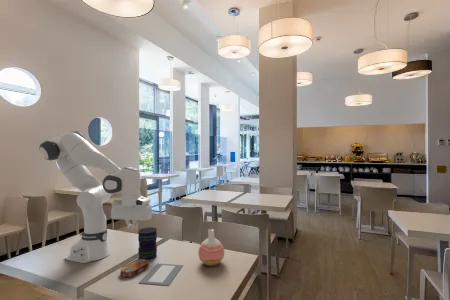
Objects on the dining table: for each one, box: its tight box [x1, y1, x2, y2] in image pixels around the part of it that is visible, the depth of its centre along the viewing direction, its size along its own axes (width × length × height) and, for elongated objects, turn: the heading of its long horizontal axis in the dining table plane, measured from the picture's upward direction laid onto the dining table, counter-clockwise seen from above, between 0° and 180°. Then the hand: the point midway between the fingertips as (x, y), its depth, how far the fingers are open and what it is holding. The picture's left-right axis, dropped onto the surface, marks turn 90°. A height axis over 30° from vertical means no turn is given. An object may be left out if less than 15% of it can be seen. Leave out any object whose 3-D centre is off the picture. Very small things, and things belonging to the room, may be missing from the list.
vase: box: [197, 228, 225, 267], centre depth 127 cm, size 14×14×18 cm
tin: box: [120, 258, 150, 278], centre depth 120 cm, size 15×3×8 cm
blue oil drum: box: [137, 226, 158, 261], centre depth 136 cm, size 10×10×15 cm
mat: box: [138, 262, 184, 287], centre depth 117 cm, size 14×19×1 cm
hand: (131, 228), depth 119 cm, fingers closed
